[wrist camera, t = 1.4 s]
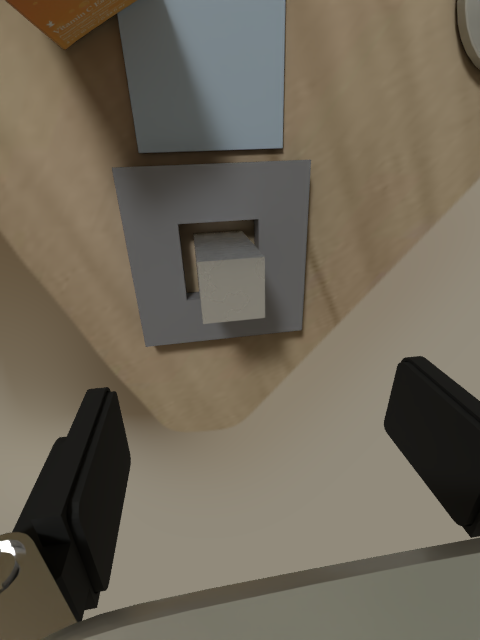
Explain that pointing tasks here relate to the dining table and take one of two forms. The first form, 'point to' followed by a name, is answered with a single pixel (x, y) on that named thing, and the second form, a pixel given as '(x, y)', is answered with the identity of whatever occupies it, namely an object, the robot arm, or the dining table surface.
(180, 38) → the blue pad
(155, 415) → the dining table surface
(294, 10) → the dining table surface
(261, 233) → the socket block
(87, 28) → the small box
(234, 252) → the steel plug
